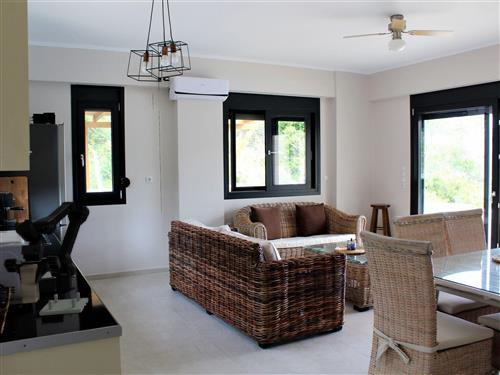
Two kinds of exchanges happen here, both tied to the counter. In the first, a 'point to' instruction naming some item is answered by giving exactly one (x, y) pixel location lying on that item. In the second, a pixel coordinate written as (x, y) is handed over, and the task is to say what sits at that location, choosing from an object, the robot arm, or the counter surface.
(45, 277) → the phone case
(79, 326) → the counter surface
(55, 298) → the base plate
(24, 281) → the maple block
